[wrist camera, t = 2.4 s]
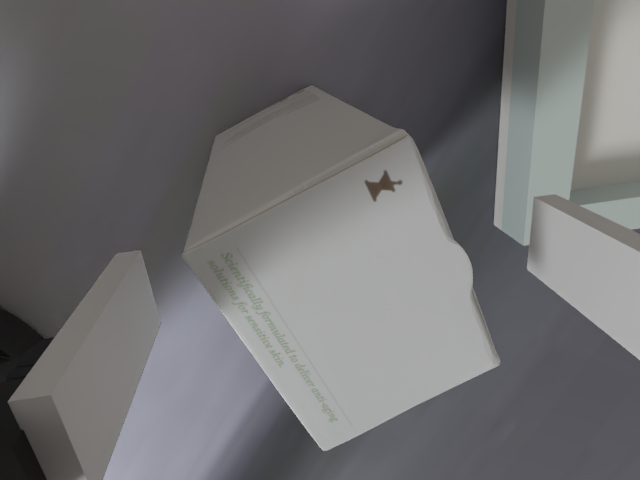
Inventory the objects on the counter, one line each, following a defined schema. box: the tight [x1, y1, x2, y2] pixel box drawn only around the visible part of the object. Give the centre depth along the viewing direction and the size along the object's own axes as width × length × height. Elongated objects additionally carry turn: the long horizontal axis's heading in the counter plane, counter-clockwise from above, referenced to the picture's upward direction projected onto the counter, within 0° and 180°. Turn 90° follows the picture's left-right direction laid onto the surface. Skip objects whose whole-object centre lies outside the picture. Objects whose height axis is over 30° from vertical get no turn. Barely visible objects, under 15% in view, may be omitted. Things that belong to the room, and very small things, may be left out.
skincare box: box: [181, 85, 500, 451], centre depth 19 cm, size 8×7×16 cm
